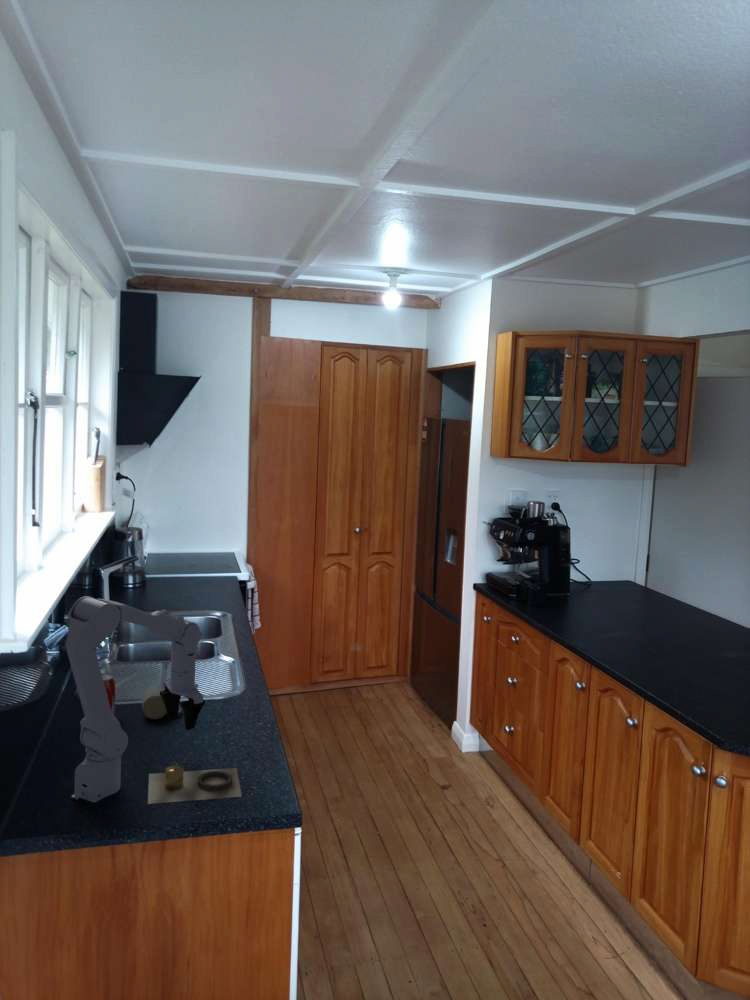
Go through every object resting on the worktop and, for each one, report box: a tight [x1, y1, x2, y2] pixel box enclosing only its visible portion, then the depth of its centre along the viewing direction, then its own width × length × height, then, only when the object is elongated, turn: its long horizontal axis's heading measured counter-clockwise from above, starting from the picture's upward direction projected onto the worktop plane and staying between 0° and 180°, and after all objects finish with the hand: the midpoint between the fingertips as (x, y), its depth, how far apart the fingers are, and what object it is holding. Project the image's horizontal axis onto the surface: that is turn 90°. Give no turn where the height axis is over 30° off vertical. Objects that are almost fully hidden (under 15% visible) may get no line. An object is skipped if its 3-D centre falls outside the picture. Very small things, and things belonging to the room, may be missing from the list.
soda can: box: [101, 672, 116, 716], centre depth 210 cm, size 7×7×12 cm
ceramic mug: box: [141, 684, 182, 720], centre depth 216 cm, size 11×8×8 cm
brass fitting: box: [164, 764, 185, 791], centre depth 174 cm, size 4×4×4 cm
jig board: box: [147, 767, 243, 805], centre depth 175 cm, size 20×14×2 cm
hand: (181, 723), depth 187 cm, fingers open, 7 cm apart
